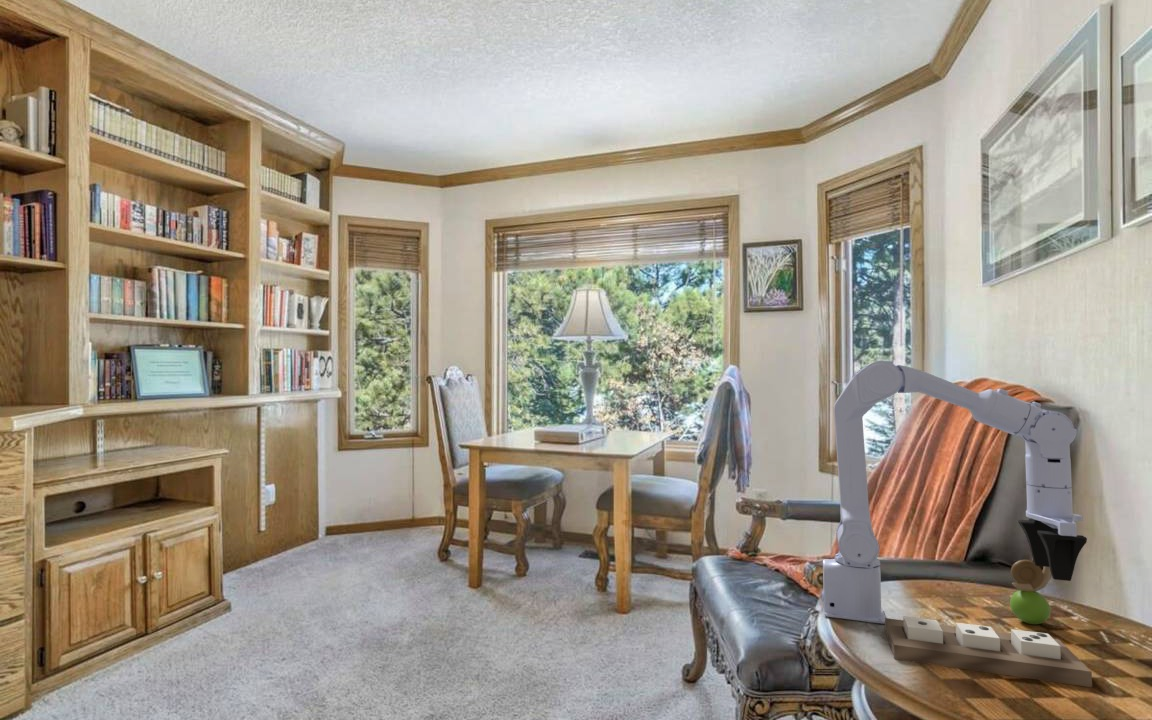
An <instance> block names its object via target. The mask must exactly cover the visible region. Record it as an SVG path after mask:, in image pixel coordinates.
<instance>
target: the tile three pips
mask: <svg viewBox="0 0 1152 720" xmlns="http://www.w3.org/2000/svg"><path fill="white" fill-rule="evenodd" d="M1010 633H1011V644H1012V645H1013V646H1014V648H1015V649H1016V650H1017V651H1018V653H1019V654H1024V655H1031V656H1039V657H1046V658H1054V659H1061V652H1060V645H1059V644H1058V643H1057V642H1056V641H1055V640H1054V639H1055V638H1053V637H1052V636H1051V635H1050V634H1049V633H1045V632H1039V631H1038V632H1037V631H1028V630H1023V629H1022V630H1020V629H1012V628H1010Z"/></svg>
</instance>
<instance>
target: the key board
mask: <svg viewBox="0 0 1152 720" xmlns="http://www.w3.org/2000/svg"><path fill="white" fill-rule="evenodd" d="M939 625H940V627H941V629H942V631H943V644H941V643H933V642H926V641H918V640H911V639H906V637H905V634H904V619H897V618H896V619H895V618H887V617H885V624H884V627H885V629H884V630H885V633H886V637H887V640H888V643H889V646H890V649H891V652H892V655H893V658H894V660H899V661H906V662H913V661H914V662H915V663H921V664H928V665H936V666H942V667H947V668H948V667H949V668H956V669H963V670H969V671H970V670H971V671H975V672H976V671H977V672H983V673H991V674H997V675H1005V676H1011V677H1017V678H1024V679H1025V678H1027V679H1030V680H1031V679H1032V680H1040V681H1047V682H1053V683H1058V684H1066V685H1073V686H1080V687H1081V686H1082V687H1087V688H1093V677H1092V675H1093V674H1092V673H1093V672H1092V670H1091V669H1089V667H1088V666H1086V664H1084V663H1083V661H1082V660H1081V659H1079V658H1078V657H1077V656H1076V654H1074V653H1073V652H1072V651H1071V650H1070V649H1069V648H1068V647H1067V646H1066V645H1065V644H1064V643H1063V642H1062V641H1061V639H1058V638H1053V639H1054V640H1055V641H1056V642H1057V643H1058V644H1059V645H1060V652H1061V659H1054V658H1046V657H1039V656H1031V655H1024V654H1019V653H1018V651H1017V650H1016V649H1015V648H1014V646H1013V645H1012V644H1011V632H1010V633H1009V632H1001V631H995V630H994V632H995V633H996V634H997V635H998V637H999V638H1000V651H994V650H986V649H979V648H971V647H963V646H961V645H960V643H959V642H958V640H957V638H956V626H952V625H944V624H939Z"/></svg>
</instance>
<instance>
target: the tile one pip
mask: <svg viewBox="0 0 1152 720" xmlns="http://www.w3.org/2000/svg"><path fill="white" fill-rule="evenodd" d="M902 618H903V619H902V620H904V634H905V637H906V639H911V640H918V641H926V642H933V643H941V644H943V631H942V629H941V627H940V625H941V624H940V623H939V621H938V620H936V619H928V618H922V617H914V616H903V617H902Z"/></svg>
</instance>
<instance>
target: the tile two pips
mask: <svg viewBox="0 0 1152 720" xmlns="http://www.w3.org/2000/svg"><path fill="white" fill-rule="evenodd" d="M955 627H956V638H957V640H958V642H959V643H960V645H961V646H963V647H971V648H979V649H986V650H994V651H1000V638H999V637H998V635H997V634H996V633H995V632H996V631H995V630H994V629H993V627H992V626H987V625H979V624H972V623H963V622H955ZM994 631H995V632H994Z"/></svg>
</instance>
